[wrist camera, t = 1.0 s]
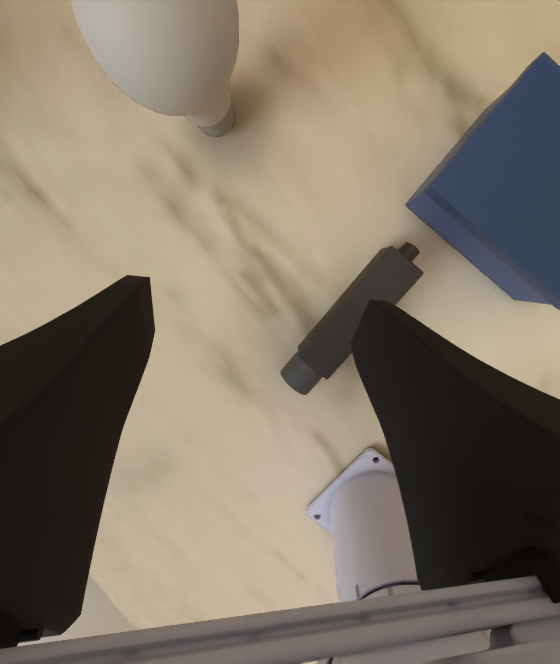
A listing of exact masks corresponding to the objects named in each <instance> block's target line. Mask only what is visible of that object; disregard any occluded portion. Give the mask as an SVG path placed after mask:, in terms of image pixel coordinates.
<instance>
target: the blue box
mask: <svg viewBox="0 0 560 664" xmlns="http://www.w3.org/2000/svg"><path fill="white" fill-rule="evenodd" d="M406 206H407V207H408V208H409V209H410V210H411V211H413V212H414V213H415V214H416V215H417V216H418V217H420V218H421V219H422V220H423V221H424V222H425V223H426V224H428V225H429V226H430V227H431V228H432V229H433V230H435V231H436V232H437V233H438V234H439V235H440V236H441V237H443V238H444V239H445V240H446V241H447V242H448V243H450V244H451V245H452V246H453V247H454V248H455V249H456V250H458V251H459V252H460V253H461V254H462V255H463V256H465V257H466V258H467V259H468V260H469V261H470V262H471V263H473V264H474V265H475V266H476V267H477V268H478V269H480V270H481V271H482V272H483V273H484V274H485V275H486V276H488V277H489V278H490V279H491V280H492V281H493V282H495V283H496V284H497V285H498V286H499V287H500V288H501V289H503V290H504V291H505V292H506V293H507V294H508V295H510V296H511V297H512V298H513V299H514V300H519V301H527V302H535V303H542V304H550V305H553V306H554V307H555V308H557V309H558V310H560V66H559V65H558V64H557V63H556V62H554V61H553V60H552V59H551V58H550V57H549V56H548V55H547V54H546V53H545V52H543V53H542V54H541V55H539V56H538V57H537V58H536V59H535V60H534V61H533V62H532V63H531V64H530V65H529V66H528V67H527V68H526V69H525V70H524V71H523V73H522V74H521V75H520V76H519V77H518V79H517V80H516V81H515V82H514V83H513V84H512V86H511V87H510V88H509V89H507V90H506V91H505V92H504V93H503V94H502V95H501V96H500V97H499V98H497V99H496V100H495V101H494V102H493V103H492V104H491V105H490V106H489V107H488V108H486V109H485V110H484V112H483V113H482V114H481V115H480V116H479V118H478V119H477V120H476V121H475V122H474V123H473V125H472V126H471V127H470V128H469V129H468V131H467V132H466V133H465V134H464V135H463V137H462V138H461V139H460V140H459V141H458V143H457V144H456V145H455V146H454V147H453V148H452V150H451V151H450V152H449V153H448V154H447V156H446V157H445V158H444V159H443V160H442V162H441V163H440V164H439V165H438V166H437V167H436V169H435V170H434V171H433V172H432V173H431V175H430V176H429V177H428V178H427V179H426V181H425V182H424V183H423V184H422V185H421V186H420V188H419V189H418V190H417V191H416V192H415V194H414V195H413V196H412V197H411V198H410V200H409V201H408V202H407V203H406Z"/></svg>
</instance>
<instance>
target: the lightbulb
mask: <svg viewBox="0 0 560 664" xmlns="http://www.w3.org/2000/svg"><path fill="white" fill-rule="evenodd" d="M71 4H72V8H73V12H74V16H75V19H76V22H77V24H78V26H79V29H80V31H81V33H82V36H83V38H84V40H85V42H86V44H87V47H88V49H89V50H90V52H91V53H92V55H93V56H94V58H95V60H96V61H97V63H98V64H99V66H100V67H101V69H102V70H103V72H104V73H105V75H106V76H107V77H108V78H109V79H110V80H111V81H112V82H113V83H114V84H115V85H116V86H117V87H118V88H119V89H120V90H121V91H122V92H123V93H124V94H125V95H126V96H128V97H129V98H130V99H132V100H133V101H134V102H136V103H138V104H140V105H142V106H143V107H145V108H147V109H150V110H152V111H154V112H156V113H160V114H164V115H169V116H185V117H186V118H187V120H189V121H190V122H191V123H193V124H195V125H197V126H198V127H199V128H200V129H201V130H202V131H203V132H204V133H205V134H206V135H208V136H211V137H220V136H223V135H225V134H226V133H227V132H228V131H229V130H230V129H231V127H232V126H233V123H234V118H235V112H234V107H233V103H232V100H231V87H230V83H229V80H230V77H231V74H232V72H233V69H234V66H235V63H236V59H237V53H238V47H239V13H238V7H237V1H236V0H71Z"/></svg>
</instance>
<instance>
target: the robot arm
mask: <svg viewBox="0 0 560 664" xmlns="http://www.w3.org/2000/svg"><path fill="white" fill-rule="evenodd" d="M154 333H155V326H154V315H153V305H152V295H151V285H150V277H141V276H131V275H127V276H125V277H123V278H122V279H120V280H118V281H117V282H115V283H113V284H112V285H110V286H109V287H107V288H106V289H104V290H103V291H101V292H99V293H98V294H96V295H95V296H93V297H91V298H90V299H88V300H87V301H85V302H83V303H82V304H80V305H78V306H77V307H75V308H73V309H71V310H70V311H68V312H66V313H64V314H62V315H61V316H59V317H57V318H55V319H53V320H52V321H50V322H48V323H46V324H44V325H43V326H41V327H39V328H37V329H35V330H33V331H31V332H29V333H27V334H25V335H23V336H21V337H18V338H16V339H14V340H12V341H10V342H7V343H5V344H3V345H1V346H0V664H301V663H306V662H312V661H317V660H318V661H317V664H560V399H557V398H555V397H553V396H550V395H548V394H546V393H544V392H542V391H539V390H537V389H535V388H533V387H531V386H529V385H527V384H524V383H522V382H520V381H518V380H516V379H514V378H512V377H510V376H508V375H506V374H504V373H502V372H501V371H499V370H497V369H495V368H493V367H491V366H489V365H488V364H486V363H484V362H482V361H480V360H479V359H477V358H475V357H473V356H472V355H470V354H468V353H467V352H465V351H464V350H462V349H460V348H459V347H457V346H456V345H454V344H452V343H451V342H449V341H448V340H446V339H445V338H443V337H442V336H440V335H439V334H437V333H436V332H434V331H433V330H431V329H430V328H428V327H427V326H425V325H424V324H422V323H421V322H419V321H418V320H416V319H415V318H413V317H412V316H410V315H409V314H407V313H406V312H404V311H403V310H401V309H400V308H398V307H396V306H395V305H393V304H391V303H389V302H387V301H384V300H374V299H370V300H369V302H368V304H367V307H366V309H365V311H364V313H363V316H362V318H361V320H360V322H359V325H358V327H357V329H356V331H355V334H354V336H353V338H352V341H351V343H350V344H351V348H352V352H353V357H354V360H355V364H356V367H357V370H358V372H359V375H360V377H361V380H362V382H363V385H364V387H365V389H366V392H367V394H368V396H369V399H370V401H371V403H372V406H373V408H374V410H375V413H376V415H377V417H378V420H379V422H380V425H381V428H382V430H383V433H384V436H385V439H386V443H387V446H388V449H389V452H390V456H391V459H392V463H391V462H390V461H389V460H388V459H386V458H385V457H384V456H383V455H381V454H380V453H379V452H378V451H376V450H375V449H373V448H367V449H366V450H365V451H364V452H363V453H362V454H361V455H360V456H359V457H358V458H357V459H356V460H355V461H354V462H353V463H351V464H350V465H349V466H348V467H347V468H346V469H345V470H344V471H343V472H342V473H341V474H340V475H339V476H338V477H337V478H336V479H335V480H334V481H333V482H332V483H331V484H330V485H329V486H328V487H327V488H326V489H325V490H324V491H323V492H322V493H321V494H320V495H319V496H318V497H317V498H316V499H315V500H314V501H313V502H312V503H311V504H310V505H309V506H308V507H307V515H308V516H309V517H310V518H311V519H313V520H314V521H315V522H317V523H318V524H319V525H321V526H322V527H323V528H325V529H326V530H327V531H329V532H330V533H331V534H332V544H333V554H334V563H335V573H336V583H337V593H338V603H332V604H324V605H317V606H310V607H302V608H295V609H288V610H281V611H273V612H266V613H259V614H251V615H244V616H237V617H230V618H222V619H215V620H208V621H200V622H193V623H186V624H179V625H171V626H164V627H157V628H149V629H142V630H135V631H128V632H120V633H113V634H106V635H98V636H92V637H84V638H77V639H69V640H62V641H55V642H47V643H40V644H33V645H26V646H19V647H17V644H18V643H21V642H28V641H36V640H40V638H41V637H49V636H56V635H61V634H62V633H64V632H65V631H66V630H67V629H68V628H69V627H70V626H71V625H72V624H73V623H74V622H75V621H76V619H77V618H78V617H79V616H80V615H81V610H82V605H83V600H84V594H85V590H86V584H87V579H88V575H89V570H90V565H91V560H92V555H93V550H94V545H95V541H96V536H97V532H98V527H99V522H100V518H101V513H102V509H103V504H104V500H105V496H106V492H107V488H108V484H109V479H110V475H111V471H112V467H113V463H114V459H115V455H116V452H117V448H118V444H119V440H120V436H121V433H122V430H123V427H124V424H125V421H126V418H127V415H128V413H129V410H130V407H131V405H132V402H133V399H134V397H135V394H136V392H137V389H138V386H139V384H140V381H141V378H142V376H143V373H144V370H145V368H146V365H147V362H148V359H149V356H150V352H151V347H152V343H153V338H154ZM375 457H378V459H377V460H373V458H375ZM315 514H319V515H318V516H317V515H315Z"/></svg>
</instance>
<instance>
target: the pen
mask: <svg viewBox="0 0 560 664" xmlns="http://www.w3.org/2000/svg"><path fill="white" fill-rule="evenodd" d="M418 254H419V250H418V249H417V248H416V247H415V246H414V245H412V244H411V243H408V242H406V243H405V244H404V245H403V246H402V247H401V248H400V249H399V251H398V250H397V249H395V248H394V247H393V246H390V247H387V248H384V249H381V250H380V251H379V252H378V253H377V254H376V256H375V257H374V258H373V259H372V260H371V261H370V263H369V264H368V265H367V266H366V267H365V269H364V270H363V271H362V272H361V273H360V274H359V276H358V277H357V278H356V279H355V280H354V281H353V283H352V284H351V285H350V286H349V287H348V288H347V290H346V291H345V292H344V293H343V294H342V295H341V297H340V298H339V299H338V300H337V301H336V303H335V304H334V305H333V306H332V307H331V308H330V310H329V311H328V312H327V313H326V314H325V315H324V317H323V318H322V319H321V320H320V321H319V322H318V324H317V325H316V326H315V327H314V328H313V329H312V331H311V332H310V333H309V334H308V335H307V336H306V338H305V339H304V340H303V341H302V342H301V344H300V345H299V346H298V352H297V353H296V354H295V355H294V356H293V357H292V359H291V360H290V361H289V362H288V363H287V364H286V366H285V367H284V368H283V369H282V370H281V375H282V377H283V379H284V380H285V381H286V383H287V384H288V385H289V386H290V387H291V388H293V389H294V390H295V391H297V392H298V393H300V394H303V395H306V394H308V393H309V392H310V390H311V389H312V388H313V387H314V386H315V385H316V384H317V383H318V382H319V380H320V379H321V378H322V377H324V378H325V379H328V378H329V377H330V376H331V375H332V374H333V373H334V371H335V370H336V369H337V368H338V367H339V366H340V365H341V364H342V363H343V362H344V360H345V359H346V358H347V357H348V356H349V355H350V354H351V353H352V348H351V344H350V343H351V341H352V338H353V336H354V334H355V331H356V329H357V327H358V325H359V322H360V320H361V318H362V316H363V313H364V311H365V309H366V307H367V304H368V302H369V300H370V299H374V300H384V301H387V302H389V303H391V304H393V305H395V304H396V303H397V302H398V301H399V300H400V299H401V298H402V297H403V296H404V295H405V293H406V292H407V291H408V290H409V289H410V288H411V287H412V286H413V285H414V284H415V282H416V281H417V280H418V279H419V278H420V277H421V276H422V275H423V272H422V271H421V270H420V269H419V268H418V267H417V266H415V265H414V264H413V263H412V261H413V260H414V259H415V257H416V256H417V255H418Z"/></svg>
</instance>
